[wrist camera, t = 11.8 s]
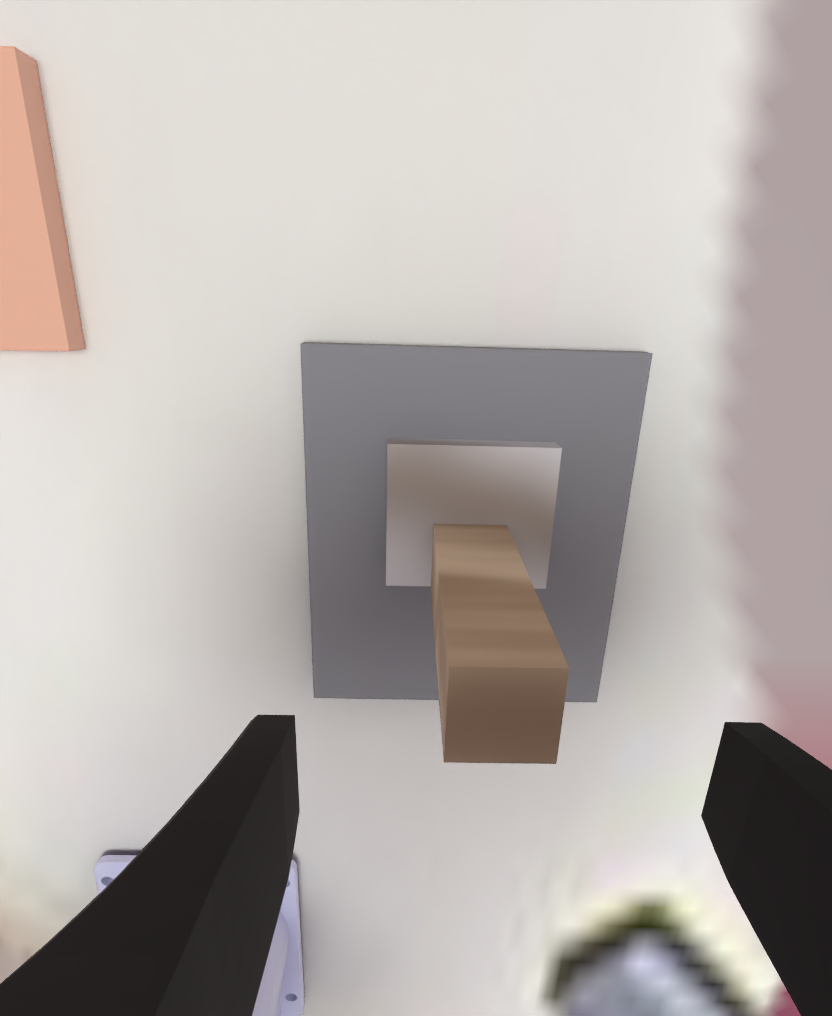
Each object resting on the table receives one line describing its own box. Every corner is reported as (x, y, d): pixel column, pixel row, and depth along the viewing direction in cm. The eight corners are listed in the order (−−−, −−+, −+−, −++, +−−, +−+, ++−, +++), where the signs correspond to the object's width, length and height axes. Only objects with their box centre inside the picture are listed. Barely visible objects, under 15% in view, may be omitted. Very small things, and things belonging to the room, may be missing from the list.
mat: (591, 691, 21) (596, 702, 21) (316, 687, 21) (314, 697, 20) (644, 351, 17) (652, 353, 17) (304, 342, 17) (300, 343, 16)
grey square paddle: (540, 580, 19) (627, 765, 11) (386, 577, 19) (371, 760, 11) (555, 441, 17) (667, 549, 10) (388, 437, 17) (372, 543, 10)
